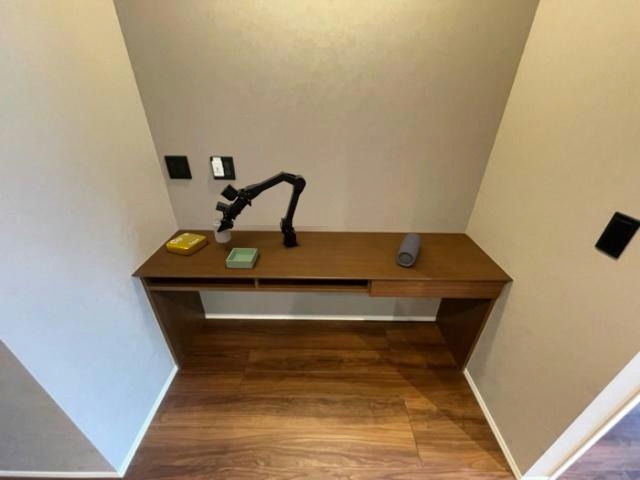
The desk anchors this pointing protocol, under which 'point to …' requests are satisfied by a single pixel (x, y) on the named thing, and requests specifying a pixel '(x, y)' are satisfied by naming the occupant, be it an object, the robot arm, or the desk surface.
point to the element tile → (186, 244)
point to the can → (221, 236)
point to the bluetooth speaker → (409, 249)
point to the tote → (242, 258)
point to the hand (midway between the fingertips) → (218, 228)
